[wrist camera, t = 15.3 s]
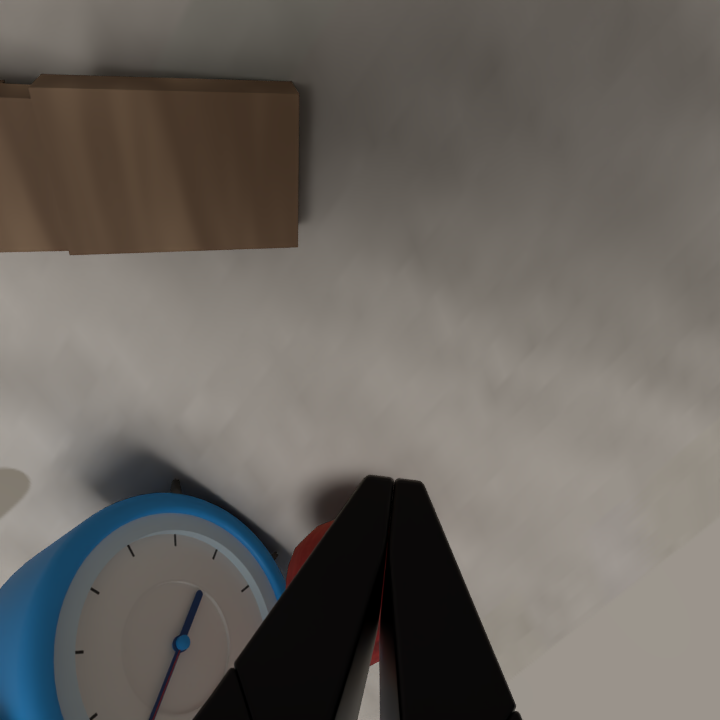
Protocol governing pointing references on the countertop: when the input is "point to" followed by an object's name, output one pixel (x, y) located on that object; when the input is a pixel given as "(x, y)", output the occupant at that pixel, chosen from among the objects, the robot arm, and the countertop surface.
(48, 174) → the tile
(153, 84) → the tile
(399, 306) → the countertop surface
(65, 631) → the alarm clock
